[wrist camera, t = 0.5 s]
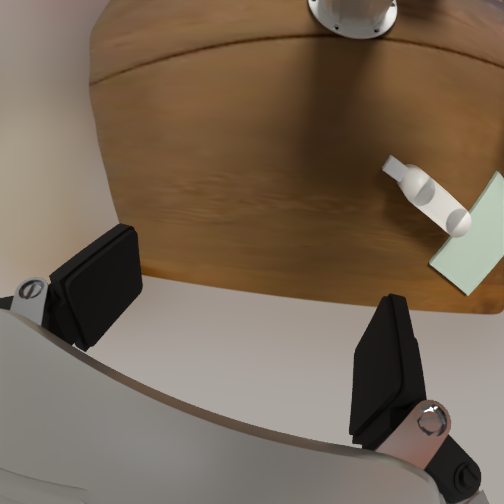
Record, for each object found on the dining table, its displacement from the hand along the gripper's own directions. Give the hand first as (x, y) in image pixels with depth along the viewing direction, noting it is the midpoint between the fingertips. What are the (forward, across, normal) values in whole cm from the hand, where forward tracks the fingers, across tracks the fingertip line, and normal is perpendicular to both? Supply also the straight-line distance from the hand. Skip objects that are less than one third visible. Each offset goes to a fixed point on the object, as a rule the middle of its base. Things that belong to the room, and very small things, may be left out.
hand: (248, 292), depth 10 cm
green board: (+34, -32, +5) cm, 47 cm away
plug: (+34, -17, +1) cm, 38 cm away
